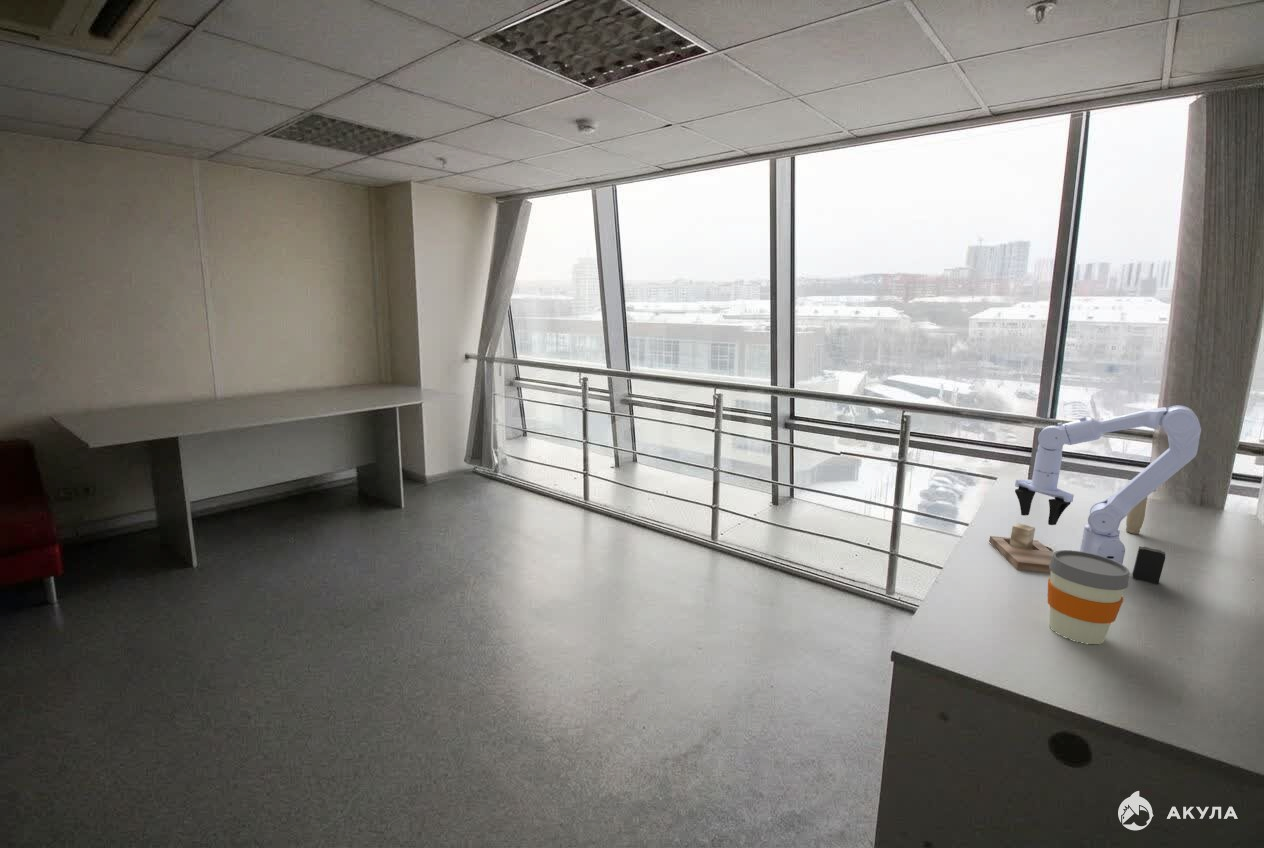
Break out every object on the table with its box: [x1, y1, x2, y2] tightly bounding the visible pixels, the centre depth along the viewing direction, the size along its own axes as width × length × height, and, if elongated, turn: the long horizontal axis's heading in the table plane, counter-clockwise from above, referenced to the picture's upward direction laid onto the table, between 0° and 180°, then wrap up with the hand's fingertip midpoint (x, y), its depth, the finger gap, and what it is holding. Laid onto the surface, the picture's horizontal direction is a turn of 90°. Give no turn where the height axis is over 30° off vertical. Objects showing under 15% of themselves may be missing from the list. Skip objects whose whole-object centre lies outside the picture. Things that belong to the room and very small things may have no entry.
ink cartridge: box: [1131, 546, 1166, 585], centre depth 147 cm, size 5×2×8 cm, turn 52°
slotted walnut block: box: [988, 535, 1054, 574], centre depth 159 cm, size 18×12×2 cm, turn 170°
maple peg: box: [1010, 523, 1036, 549], centre depth 162 cm, size 4×4×7 cm
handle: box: [1125, 481, 1157, 535], centre depth 180 cm, size 5×6×15 cm
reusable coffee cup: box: [1047, 549, 1130, 645], centre depth 120 cm, size 13×13×15 cm
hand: (1038, 519), depth 164 cm, fingers open, 7 cm apart
